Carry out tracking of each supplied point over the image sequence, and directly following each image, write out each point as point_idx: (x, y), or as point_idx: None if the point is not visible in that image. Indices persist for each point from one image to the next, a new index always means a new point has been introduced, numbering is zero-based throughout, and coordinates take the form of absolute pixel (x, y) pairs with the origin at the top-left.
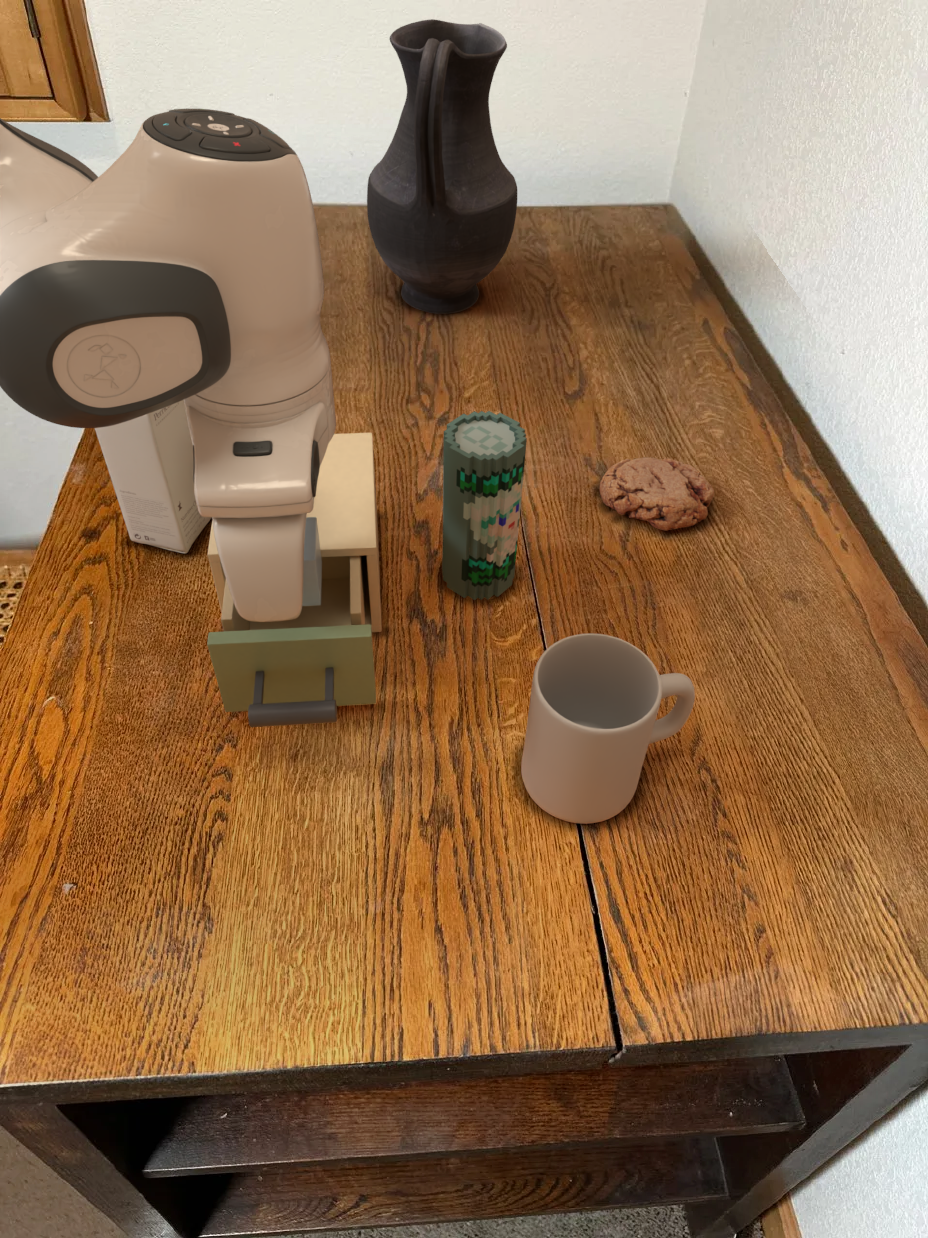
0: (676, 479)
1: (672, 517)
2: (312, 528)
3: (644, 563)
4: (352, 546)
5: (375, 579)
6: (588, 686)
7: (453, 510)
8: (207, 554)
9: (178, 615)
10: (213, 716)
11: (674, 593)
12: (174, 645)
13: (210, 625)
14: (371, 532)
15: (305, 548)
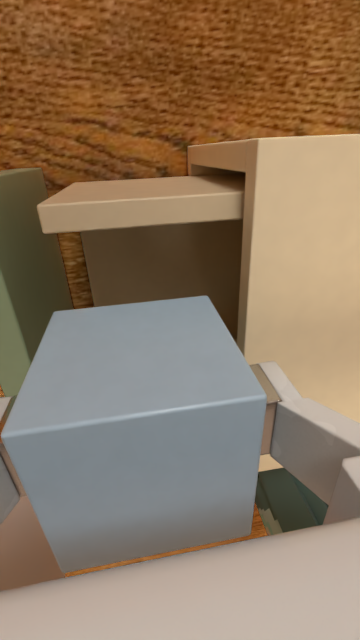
0: None
1: None
2: (199, 542)
3: (258, 526)
4: None
5: None
6: None
7: (305, 525)
8: (260, 138)
9: (250, 32)
10: (23, 141)
11: (223, 542)
12: (177, 35)
13: (221, 107)
14: (274, 464)
15: (109, 549)
